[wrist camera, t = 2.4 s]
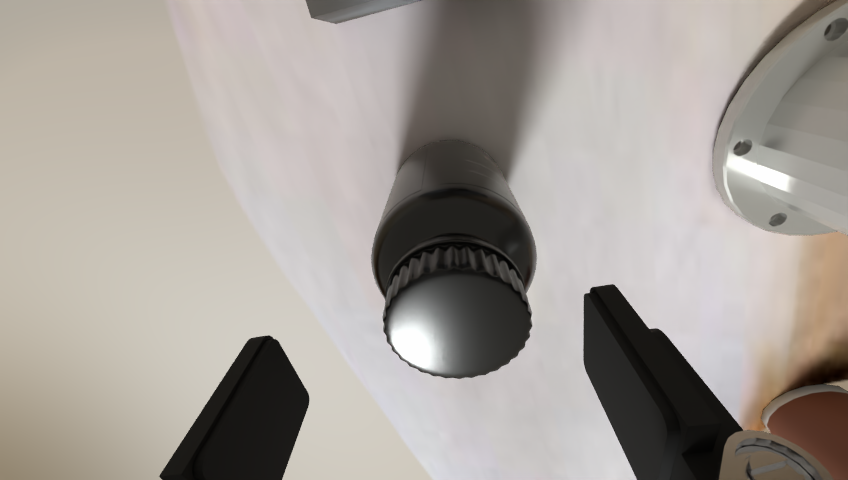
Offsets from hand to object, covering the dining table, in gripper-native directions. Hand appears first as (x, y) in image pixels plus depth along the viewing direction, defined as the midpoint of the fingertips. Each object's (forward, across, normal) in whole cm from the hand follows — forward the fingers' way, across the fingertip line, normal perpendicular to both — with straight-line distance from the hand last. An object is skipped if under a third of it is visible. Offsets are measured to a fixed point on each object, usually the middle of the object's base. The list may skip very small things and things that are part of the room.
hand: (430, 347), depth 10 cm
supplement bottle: (+13, -1, 0) cm, 13 cm away
